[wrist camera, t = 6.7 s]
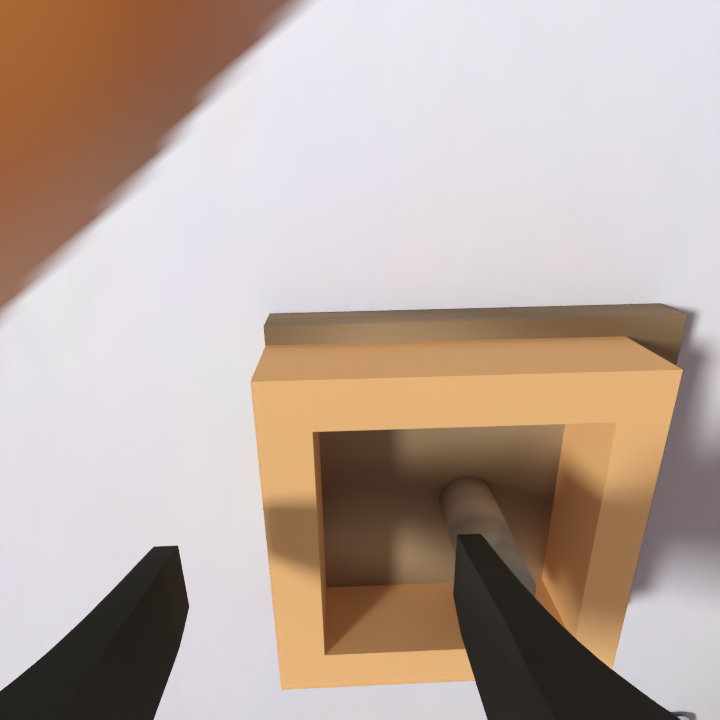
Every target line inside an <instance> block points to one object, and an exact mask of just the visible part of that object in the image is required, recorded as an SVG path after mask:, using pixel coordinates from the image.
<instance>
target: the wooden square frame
mask: <svg viewBox="0 0 720 720" xmlns="http://www.w3.org/2000/svg"><path fill="white" fill-rule="evenodd" d="M682 372H683V369H681V368H679V367H677V366H676V365H674V364H672V363H671V362H669V361H667V360H665V359H664V358H662V357H660V356H658V355H657V354H655V353H653V352H652V351H650V350H648V349H646V348H645V347H643V346H641V345H639V344H638V343H636V342H634V341H633V340H631V339H629V338H627V337H626V336H615V337H576V338H537V339H498V340H459V341H420V342H381V343H342V344H303V345H266V346H265V349H264V351H263V353H262V356H261V358H260V361H259V363H258V365H257V368H256V370H255V373H254V375H253V377H252V380H251V390H252V400H253V410H254V420H255V430H256V440H257V450H258V460H259V470H260V480H261V490H262V500H263V510H264V520H265V530H266V540H267V550H268V560H269V570H270V579H271V589H272V599H273V609H274V619H275V629H276V639H277V649H278V659H279V669H280V679H281V689H282V690H285V689H306V688H327V687H348V686H369V685H390V684H411V683H432V682H453V681H474V680H475V678H474V675H473V672H472V669H471V665H470V662H469V659H468V656H467V653H466V649H465V646H464V643H463V640H462V636H461V632H460V627H459V622H458V618H457V613H456V607H455V602H454V597H453V589H454V582H451V583H426V584H402V585H378V586H354V587H330V588H327V585H326V565H325V544H324V524H323V503H322V483H321V462H320V442H319V432H327V431H359V430H391V429H423V428H455V427H487V426H519V425H551V424H565V428H564V435H563V442H562V448H561V455H560V461H559V468H558V475H557V481H556V488H555V494H554V501H553V508H552V514H551V521H550V528H549V534H548V541H547V547H546V554H545V561H544V567H543V574H542V579H534V581H535V584H536V594H535V598H536V599H537V600H538V601H539V602H540V603H541V604H542V606H543V607H544V608H545V609H546V610H547V611H548V612H549V613H550V614H551V615H552V616H553V617H554V618H555V619H556V620H557V621H558V622H559V623H560V624H561V625H562V626H563V627H564V628H565V629H566V630H567V631H568V632H569V633H571V634H572V635H573V636H574V637H575V638H576V639H577V640H578V641H579V642H580V643H581V644H582V645H584V646H585V647H586V648H587V649H588V650H589V651H590V652H592V653H593V654H594V655H595V656H596V657H597V658H598V659H600V660H601V661H602V662H603V663H605V664H606V665H607V666H608V667H609V668H611V669H612V668H613V664H614V660H615V655H616V651H617V647H618V643H619V639H620V634H621V630H622V626H623V622H624V617H625V613H626V609H627V605H628V600H629V596H630V592H631V588H632V583H633V579H634V575H635V571H636V567H637V562H638V558H639V554H640V550H641V545H642V541H643V537H644V533H645V528H646V524H647V520H648V516H649V512H650V507H651V503H652V499H653V495H654V490H655V486H656V482H657V478H658V473H659V469H660V465H661V461H662V457H663V452H664V448H665V444H666V440H667V435H668V431H669V427H670V423H671V418H672V414H673V410H674V406H675V402H676V397H677V393H678V389H679V385H680V380H681V376H682Z"/></svg>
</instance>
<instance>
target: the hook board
mask: <svg viewBox="0 0 720 720" xmlns="http://www.w3.org/2000/svg"><path fill="white" fill-rule="evenodd" d="M686 320H687V314H684V313H682V312H679V311H677V310H675V309H672V308H670V307H667V306H665V305H663V304H624V305H585V306H547V307H509V308H471V309H432V310H394V311H356V312H317V313H279V314H269V316H268V318H267V320H266V323H265V325H264V335H265V346H266V345H303V344H342V343H381V342H420V341H459V340H498V339H537V338H576V337H615V336H626V337H627V338H629V339H631V340H633V341H634V342H636V343H638V344H639V345H641V346H643V347H645V348H646V349H648V350H650V351H652V352H653V353H655V354H657V355H658V356H660V357H662V358H664V359H665V360H667V361H669V362H671V363H672V364H674V365H676V364H677V359H678V355H679V350H680V346H681V342H682V337H683V333H684V328H685V324H686ZM564 428H565V424H551V425H519V426H487V427H455V428H423V429H391V430H359V431H327V432H319V442H320V462H321V483H322V503H323V524H324V544H325V565H326V585H327V588H330V587H354V586H378V585H402V584H426V583H451V582H454V574H455V559H456V544H457V535H458V534H481V535H482V536H483V537H484V538H485V539H486V540H487V541H488V543H489V544H490V545H491V547H492V548H493V549H494V550H495V552H496V553H497V554H498V555H499V557H500V558H501V559H502V560H503V561H504V563H505V564H506V565H507V566H508V567H509V569H510V570H511V571H512V572H513V573H514V575H515V576H516V577H517V578H518V579H519V580H520V581H521V583H522V584H523V585H524V586H525V587H526V588H527V589H528V590H529V591H530V593H531V594H532V595H533V596H534V597H535V594H536V584H535V581H534V579H542V574H543V567H544V561H545V554H546V547H547V541H548V534H549V528H550V521H551V514H552V508H553V501H554V494H555V488H556V481H557V475H558V468H559V461H560V455H561V448H562V442H563V435H564Z"/></svg>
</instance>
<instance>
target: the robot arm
mask: <svg viewBox="0 0 720 720" xmlns="http://www.w3.org/2000/svg"><path fill="white" fill-rule="evenodd" d="M453 597H454V602H455V607H456V613H457V618H458V622H459V627H460V632H461V636H462V640H463V643H464V646H465V649H466V653H467V656H468V659H469V662H470V665H471V669H472V672H473V675H474V678H475V681H476V684H477V687H478V691H479V694H480V697H481V700H482V703H483V706H484V710H485V713H486V716H487V719H488V720H689V718H687V717H685V716H675V715H674V714H672V713H671V712H669V711H668V710H666V709H665V708H663V707H662V706H660V705H659V704H657V703H656V702H655V701H653V700H652V699H650V698H649V697H648V696H646V695H645V694H644V693H642V692H641V691H640V690H638V689H637V688H636V687H634V686H633V685H632V684H630V683H629V682H628V681H626V680H625V679H624V678H622V677H621V676H620V675H618V674H617V673H616V672H614V671H613V670H612V669H611V668H609V667H608V666H607V665H606V664H605V663H603V662H602V661H601V660H600V659H598V658H597V657H596V656H595V655H594V654H593V653H592V652H590V651H589V650H588V649H587V648H586V647H585V646H584V645H582V644H581V643H580V642H579V641H578V640H577V639H576V638H575V637H574V636H573V635H572V634H571V633H569V632H568V631H567V630H566V629H565V628H564V627H563V626H562V625H561V624H560V623H559V622H558V621H557V620H556V619H555V618H554V617H553V616H552V615H551V614H550V613H549V612H548V611H547V610H546V609H545V608H544V607H543V606H542V604H541V603H540V602H539V601H538V600H537V599H536V598H535V597H534V596H533V595H532V594H531V593H530V591H529V590H528V589H527V588H526V587H525V586H524V585H523V584H522V583H521V581H520V580H519V579H518V578H517V577H516V576H515V575H514V573H513V572H512V571H511V570H510V569H509V567H508V566H507V565H506V564H505V563H504V561H503V560H502V559H501V558H500V557H499V555H498V554H497V553H496V552H495V550H494V549H493V548H492V547H491V545H490V544H489V543H488V541H487V540H486V539H485V538H484V537H483V536H482V535H481V534H458V535H457V544H456V559H455V574H454V589H453ZM188 609H189V603H188V598H187V592H186V587H185V582H184V576H183V571H182V565H181V560H180V554H179V549H178V546H161V547H153V548H152V549H151V550H150V551H149V552H148V553H147V554H146V555H145V556H144V557H143V558H142V559H141V561H140V562H139V563H138V564H137V565H136V566H135V567H134V568H133V569H132V570H131V571H130V572H129V573H128V574H127V575H126V576H125V577H124V578H123V580H122V581H121V582H120V583H119V584H118V585H117V586H116V587H115V588H114V589H113V590H112V591H111V592H110V593H109V594H108V595H107V596H106V597H105V598H104V599H103V600H102V601H101V602H100V603H99V604H98V605H97V606H96V607H95V608H94V609H93V610H92V611H91V612H90V613H89V614H88V615H87V616H86V617H85V618H84V619H83V620H82V621H81V622H80V623H79V624H78V625H77V626H76V627H75V628H74V629H73V630H71V631H70V632H69V633H68V634H67V635H66V636H65V637H64V638H63V639H62V640H61V641H60V642H59V643H58V644H57V645H55V646H54V647H53V648H52V649H51V650H50V651H49V652H48V653H46V654H45V655H44V656H43V657H42V658H41V659H39V660H38V661H37V662H36V663H35V664H34V665H32V666H31V667H30V668H29V669H27V670H26V671H25V672H24V673H23V674H21V675H20V676H19V677H18V678H16V679H15V680H14V681H13V682H12V683H10V684H9V685H8V686H6V687H5V688H4V689H3V690H1V691H0V720H153V719H154V717H155V714H156V711H157V708H158V706H159V703H160V700H161V697H162V695H163V692H164V689H165V687H166V684H167V681H168V678H169V675H170V673H171V670H172V667H173V664H174V662H175V659H176V656H177V653H178V650H179V647H180V643H181V639H182V635H183V631H184V627H185V622H186V618H187V614H188Z"/></svg>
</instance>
